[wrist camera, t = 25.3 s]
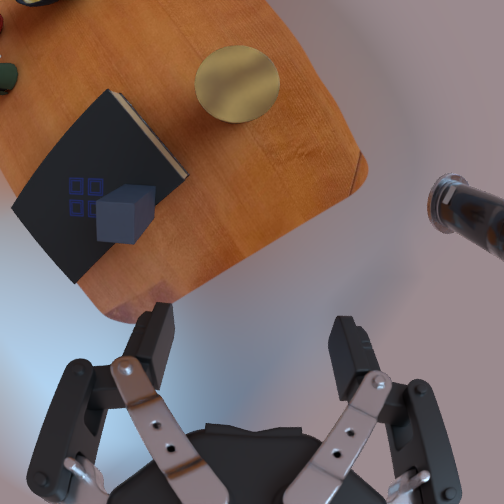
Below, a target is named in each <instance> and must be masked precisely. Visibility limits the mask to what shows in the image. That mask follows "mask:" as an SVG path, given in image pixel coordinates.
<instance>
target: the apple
mask: <svg viewBox="0 0 504 504" xmlns="http://www.w3.org/2000/svg"><path fill="white" fill-rule="evenodd" d="M2 26H3V17H2V16H1V14H0V33H1V29H2Z"/></svg>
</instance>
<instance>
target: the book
mask: <svg viewBox="0 0 504 504" xmlns="http://www.w3.org/2000/svg"><path fill="white" fill-rule="evenodd" d="M188 176H189V174H188V172H187V171H186V170H185V169H184V168H183V166H182V165H181V164H180V163H179V162H178V160H177V159H176V158H175V157H174V156H173V154H172V153H171V152H170V151H169V150H168V148H167V147H166V146H165V145H164V144H163V142H162V141H161V140H160V139H159V138H158V136H157V135H156V134H155V133H154V132H153V131H152V129H151V128H150V127H149V126H148V125H147V123H146V122H145V121H144V120H143V119H142V117H141V116H140V115H139V114H138V113H137V111H136V110H135V109H134V108H133V107H132V105H131V104H130V103H129V102H128V101H127V99H126V98H125V97H124V96H123V95H122V93H119V94H118V93H115V92H112V91H110V90H109V89H106V90H105V91H104V92H103V93H102V94H101V95H100V96H99V97H98V98H97V99H96V100H95V101H94V102H93V103H92V104H91V105H90V106H89V108H88V109H87V110H86V111H85V112H84V113H83V114H82V115H81V116H80V117H79V118H78V119H77V120H76V122H75V123H74V124H73V125H72V126H71V127H70V128H69V130H68V131H67V132H66V133H65V134H64V135H63V137H62V138H61V139H60V140H59V141H58V143H57V144H56V145H55V146H54V148H53V149H52V150H51V151H50V153H49V154H48V155H47V156H46V158H45V159H44V160H43V162H42V163H41V164H40V166H39V167H38V168H37V170H36V171H35V173H34V174H33V175H32V177H31V178H30V180H29V181H28V183H27V184H26V186H25V187H24V188H23V190H22V191H21V193H20V195H19V196H18V198H17V199H16V201H15V202H14V204H13V206H12V207H11V209H12V210H13V211H14V213H15V214H16V215H17V217H18V218H19V219H20V221H21V222H22V223H23V224H24V226H25V227H26V228H27V230H28V231H29V232H30V233H31V235H32V236H33V237H34V239H35V240H36V241H37V242H38V244H39V245H40V246H41V247H42V248H43V249H44V251H45V252H46V253H47V254H48V256H49V257H50V258H51V259H52V260H53V261H54V262H55V264H56V265H57V266H58V267H59V268H60V269H61V270H62V271H63V272H64V274H65V275H66V276H67V277H68V278H69V279H70V280H71V281H72V282H73V283H74V284H76V282H77V281H78V280H79V279H80V278H81V277H82V276H83V275H84V274H85V273H86V272H87V271H88V270H89V269H90V268H91V267H92V266H93V265H94V264H95V263H96V262H97V261H98V260H99V259H100V258H101V257H102V256H103V255H104V254H105V253H106V252H107V251H108V250H109V249H110V248H111V247H112V246H113V245H114V244H115V243H113V242H103V241H97V228H96V201H97V200H99V199H100V198H102V197H104V196H105V195H107V194H109V193H111V192H112V191H114V190H116V189H117V188H119V187H121V186H123V185H124V184H130V185H147V186H156V192H155V206H156V205H157V204H158V203H159V202H160V201H162V200H163V199H164V198H165V197H166V196H167V195H169V194H170V193H171V192H172V191H173V190H174V189H176V188H177V187H178V186H179V185H180V184H181V183H183V182H184V181H185V180H184V179H186V178H187V177H188Z"/></svg>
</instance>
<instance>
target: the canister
mask: <svg viewBox="0 0 504 504" xmlns="http://www.w3.org/2000/svg"><path fill="white" fill-rule="evenodd" d="M279 85H280V82H279V75H278V72H277V69H276V67H275V66H274V64H273V63H272V61H271V60H270V59H269V58H268V57H267V56H266V55H265V54H263V53H262V52H260V51H258V50H256V49H254V48H251V47H247V46H238V45H237V46H228V47H224V48H221V49H219V50H217V51H215V52H213V53H212V54H210V55H209V56H208V57H207V58H206V59H205V60H204V61H203V62H202V63H201V65H200V67H199V68H198V71H197V73H196V77H195V92H196V96H197V99H198V101H199V102H200V104H201V106H202V107H203V108H204V109H205V110H206V111H207V112H208V113H209V114H210V115H212V116H213V117H215V118H217V119H219V120H221V121H223V122H226V123H230V124H237V123H244V122H248V121H252V120H254V119H256V118H258V117H260V116H262V115H263V114H265V113H266V112H267V111H268V110H269V109H270V108H271V107H272V105H273V104H274V102H275V100H276V98H277V96H278V92H279Z"/></svg>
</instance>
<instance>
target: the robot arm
mask: <svg viewBox="0 0 504 504" xmlns="http://www.w3.org/2000/svg"><path fill="white" fill-rule="evenodd" d="M436 215H437V218H438V221H439V222H440V224H441V225H443V226H444V227H446V228H448V229H450V230H452V231H454V232H456V233H457V234H459V235H461V236H463V237H464V238H466V239H468V240H470V241H471V242H473V243H475V244H476V245H478V246H480V247H481V248H483V249H484V250H486V251H488V252H489V253H491V254H493V255H494V256H496V257H497V258H499V259H501V260H502V261H504V199H502V198H500V197H498V196H495V195H493V194H490V193H487V192H485V191H482V190H479V189H477V188H474V187H471V186H468V185H466V184H463V183H461V182H458V181H451V182H448V183H447V184H446V185H444V187H443V188H442V189H441V191H440V192H439V194H438V197H437V201H436ZM174 332H175V325H174V316H173V306H172V304H171V303H162V302H156V304H155V306H154V309H153V311H152V312H149V311H145V312H144V313H143V314H142V315H141V316H140V317H139V318H138V320H137V322H136V325H135V327H134V329H133V333H132V334H131V336H130V339H129V341H128V343H127V346H126V348H125V350H124V353H123V355H122V356H121V357H118V358H117V359H115V360H114V361H113V362H112V364H110V365H105V366H92V364H91V363H90V362H89V361H88V360H86V359H75V360H73V361H71V362H70V363H69V364H68V365H67V366H66V368H65V370H64V373H63V375H62V378H61V380H60V382H59V384H58V387H57V389H56V391H55V394H54V396H53V399H52V402H51V404H50V406H49V409H48V412H47V414H46V417H45V420H44V423H43V425H42V428H41V431H40V434H39V437H38V440H37V443H36V446H35V449H34V452H33V455H32V458H31V462H30V465H29V468H28V472H27V476H26V479H27V484H28V486H29V488H30V489H31V491H33V493H35V494H36V495H38V496H40V497H41V498H43V499H44V500H45V501H47V502H48V503H50V504H459V502H460V500H461V498H462V489H461V484H460V480H459V476H458V471H457V468H456V464H455V460H454V456H453V453H452V449H451V445H450V442H449V438H448V435H447V432H446V429H445V426H444V422H443V419H442V416H441V413H440V410H439V407H438V404H437V401H436V398H435V396H434V393H433V390H432V388H431V386H430V385H429V384H428V383H427V382H426V381H424V380H421V379H414V380H412V381H411V382H410V383H409V384H408V385H404V384H399V383H395V382H392V381H391V378H390V377H389V376H388V375H387V374H386V373H384V372H382V371H381V370H380V367H379V364H378V361H377V359H376V356H375V353H374V350H373V349H372V345H371V343H370V339H369V337H368V334H367V333H366V331H365V330H364V329H363V328H362V327H361V326H356V325H355V322H354V320H353V317H352V316H337V317H336V319H335V322H334V325H333V328H332V330H331V334H330V336H329V341H328V349H329V354H330V357H331V362H332V366H333V371H334V376H335V380H336V385H337V390H338V395H339V399H340V401H348V406H347V407H346V409H345V410H344V412H343V413H342V415H341V416H340V418H339V419H338V421H337V422H336V424H335V426H334V427H333V428H332V430H331V431H330V433H329V434H328V436H327V437H326V439H325V440H324V441H323V442H321V441H320V440H318V439H316V438H315V437H312V436H310V435H307V434H303V433H302V428H301V427H278V428H273V429H269V430H263V431H258V432H252V431H248V430H244V429H241V428H237V427H234V426H230V425H221V424H210V423H206V425H205V429H201V430H196V431H193V432H190V433H188V434H186V435H185V434H184V432H183V431H182V429H181V427H180V426H179V425H178V423H177V422H176V420H175V418H174V417H173V415H172V413H171V412H170V410H169V409H168V407H167V405H166V404H165V402H164V400H163V399H162V397H161V396H160V395H159V394H157V393H156V391H155V390H160V386H161V382H162V378H163V375H164V371H165V367H166V364H167V360H168V357H169V353H170V349H171V346H172V342H173V339H174ZM117 408H126V409H127V411H128V413H129V415H130V417H131V419H132V421H133V423H134V425H135V427H136V429H137V431H138V432H139V434H140V436H141V438H142V440H143V441H144V443H145V445H146V447H147V449H148V451H149V453H150V454H151V456H152V458H153V460H152V461H151V462H149V463H148V464H147V465H146V466H144V467H143V468H142V469H140V470H139V471H138V472H136V473H135V474H134V475H132V476H131V477H130V478H128V479H127V480H125V481H124V482H123V483H121V484H120V485H119V486H117V487H116V488H115V489H114V490H113V491H112V492H111V493H110V494H107V493H106V491H105V489H104V479H103V475H102V473H101V472H100V471H99V470H98V469H97V468H96V467H95V466H94V464H95V460H96V455H97V451H98V447H99V443H100V439H101V435H102V431H103V427H104V423H105V419H106V415H107V411H108V409H117ZM377 422H379V423H385V426H386V430H387V436H388V441H389V446H390V452H391V457H392V462H393V469H394V475H395V480H394V481H393V482H392V483H391V484H390V486H389V489H388V497H387V500H385V499H384V498H383V497H382V496H381V495H380V494H379V493H378V492H377V491H376V490H375V489H373V488H372V487H371V486H370V485H369V484H368V483H366V482H365V481H364V480H363V479H362V478H361V477H360V476H359V475H357V474H356V473H355V472H354V471H353V470H352V469H351V468H352V466H353V464H354V462H355V461H356V459H357V458H358V456H359V454H360V452H361V451H362V449H363V447H364V445H365V444H366V442H367V440H368V438H369V436H370V435H371V433H372V431H373V429H374V427H375V425H376V423H377Z"/></svg>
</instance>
